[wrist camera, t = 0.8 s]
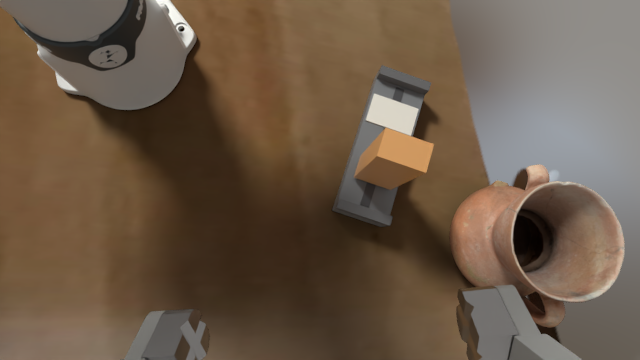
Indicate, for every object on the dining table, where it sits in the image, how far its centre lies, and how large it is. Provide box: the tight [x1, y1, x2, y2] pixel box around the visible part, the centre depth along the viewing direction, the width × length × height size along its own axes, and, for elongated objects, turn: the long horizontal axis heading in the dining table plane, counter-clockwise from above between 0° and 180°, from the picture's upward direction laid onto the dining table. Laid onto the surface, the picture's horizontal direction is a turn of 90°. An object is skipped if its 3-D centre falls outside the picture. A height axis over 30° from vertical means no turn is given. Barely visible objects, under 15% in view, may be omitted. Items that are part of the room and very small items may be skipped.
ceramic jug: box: [450, 165, 625, 327], centre depth 43 cm, size 18×14×14 cm
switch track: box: [332, 66, 431, 227], centre depth 49 cm, size 20×7×4 cm, turn 162°
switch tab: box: [354, 128, 434, 190], centre depth 41 cm, size 3×5×12 cm, turn 72°
